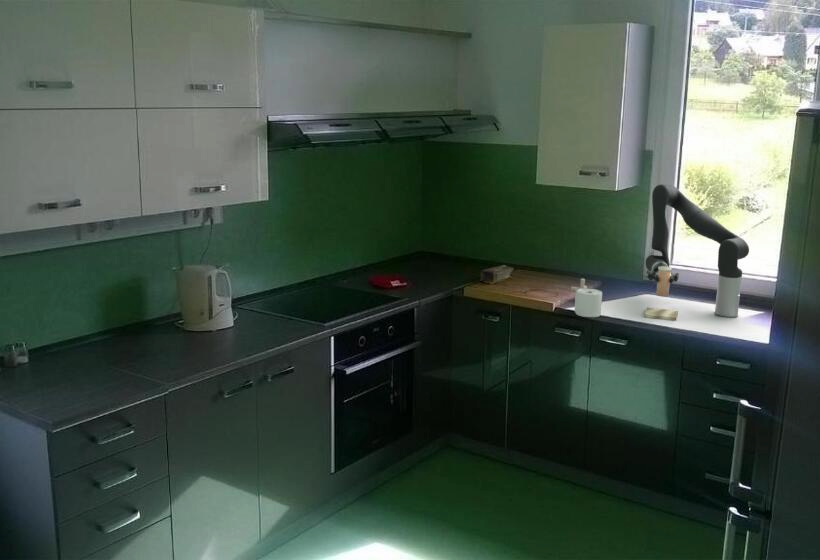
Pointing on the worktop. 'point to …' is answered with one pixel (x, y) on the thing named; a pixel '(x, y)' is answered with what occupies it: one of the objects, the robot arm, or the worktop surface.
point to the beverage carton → (496, 273)
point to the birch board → (661, 313)
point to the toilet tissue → (588, 302)
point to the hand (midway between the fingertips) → (664, 280)
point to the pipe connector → (582, 286)
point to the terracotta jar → (663, 280)
